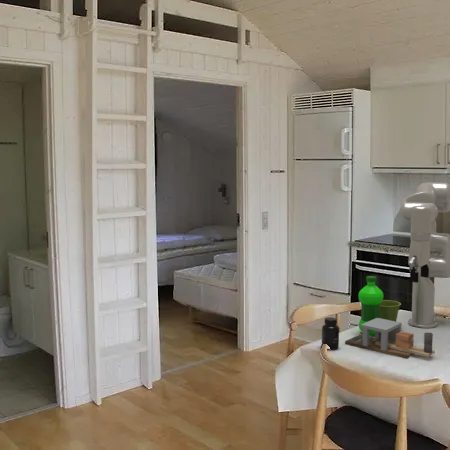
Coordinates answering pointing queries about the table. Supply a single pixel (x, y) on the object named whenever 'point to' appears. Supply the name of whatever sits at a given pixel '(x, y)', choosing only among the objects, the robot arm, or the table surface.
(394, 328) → the tunnel
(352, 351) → the table surface
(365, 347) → the track board
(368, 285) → the plastic bottle
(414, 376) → the table surface
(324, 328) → the supplement bottle
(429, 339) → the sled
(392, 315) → the plant pot
